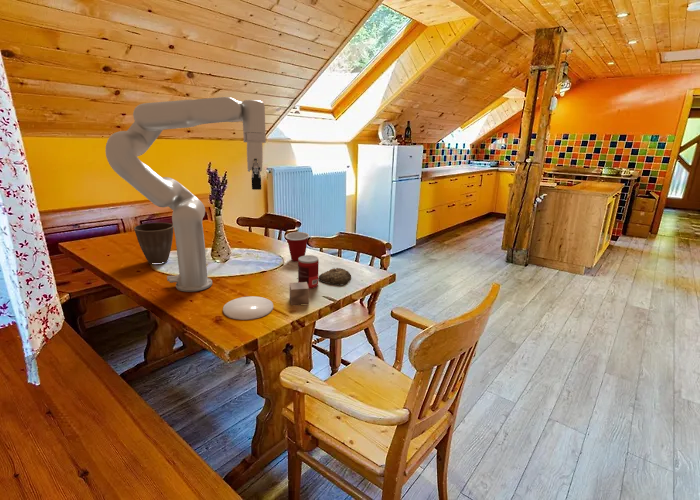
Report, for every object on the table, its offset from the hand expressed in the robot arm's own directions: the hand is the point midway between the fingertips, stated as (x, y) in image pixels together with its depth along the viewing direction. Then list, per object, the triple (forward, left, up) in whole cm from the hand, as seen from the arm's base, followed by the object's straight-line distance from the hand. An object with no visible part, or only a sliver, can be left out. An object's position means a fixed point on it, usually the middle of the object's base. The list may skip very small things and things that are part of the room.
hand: (256, 187), depth 137 cm
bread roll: (+30, -1, -37) cm, 48 cm away
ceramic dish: (-4, -23, -37) cm, 43 cm away
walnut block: (+13, -20, -37) cm, 44 cm away
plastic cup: (+17, +25, -37) cm, 48 cm away
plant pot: (-43, +30, -37) cm, 64 cm away
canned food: (+18, -6, -37) cm, 42 cm away
